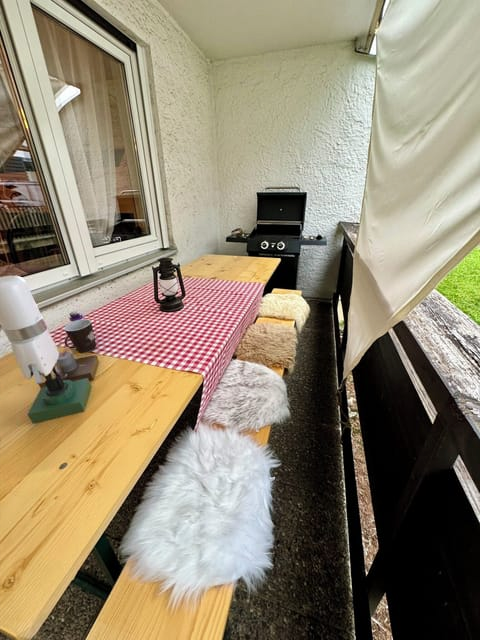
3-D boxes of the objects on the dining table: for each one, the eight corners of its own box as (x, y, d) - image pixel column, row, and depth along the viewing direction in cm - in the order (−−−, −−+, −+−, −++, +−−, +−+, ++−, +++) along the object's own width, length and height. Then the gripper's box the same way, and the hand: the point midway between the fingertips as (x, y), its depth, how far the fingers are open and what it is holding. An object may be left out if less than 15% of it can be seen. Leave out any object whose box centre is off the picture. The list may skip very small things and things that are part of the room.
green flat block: (33, 424, 66) (23, 408, 63) (46, 396, 74) (38, 382, 72) (84, 411, 69) (77, 396, 66) (91, 386, 77) (85, 372, 75)
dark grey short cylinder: (47, 401, 67) (44, 396, 67) (53, 390, 71) (50, 385, 70) (66, 397, 69) (63, 392, 68) (70, 386, 72) (68, 381, 71)
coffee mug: (91, 339, 101) (82, 317, 97) (104, 345, 97) (96, 322, 93) (60, 355, 93) (49, 331, 88) (74, 362, 89) (63, 337, 84)
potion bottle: (67, 344, 99) (55, 316, 94) (85, 332, 106) (74, 306, 101) (84, 347, 97) (73, 319, 91) (101, 335, 104) (92, 308, 98)
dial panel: (42, 391, 77) (37, 383, 75) (53, 371, 85) (49, 363, 84) (93, 380, 80) (90, 372, 78) (99, 361, 88) (96, 354, 87)
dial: (75, 370, 80) (69, 356, 77) (59, 374, 79) (52, 360, 76) (78, 362, 83) (72, 348, 81) (63, 365, 82) (57, 351, 80)
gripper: (21, 318, 66) (50, 374, 74) (-10, 350, 53) (30, 413, 62) (54, 313, 67) (79, 368, 76) (32, 342, 55) (65, 404, 63)
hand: (57, 388), depth 69 cm, fingers closed
